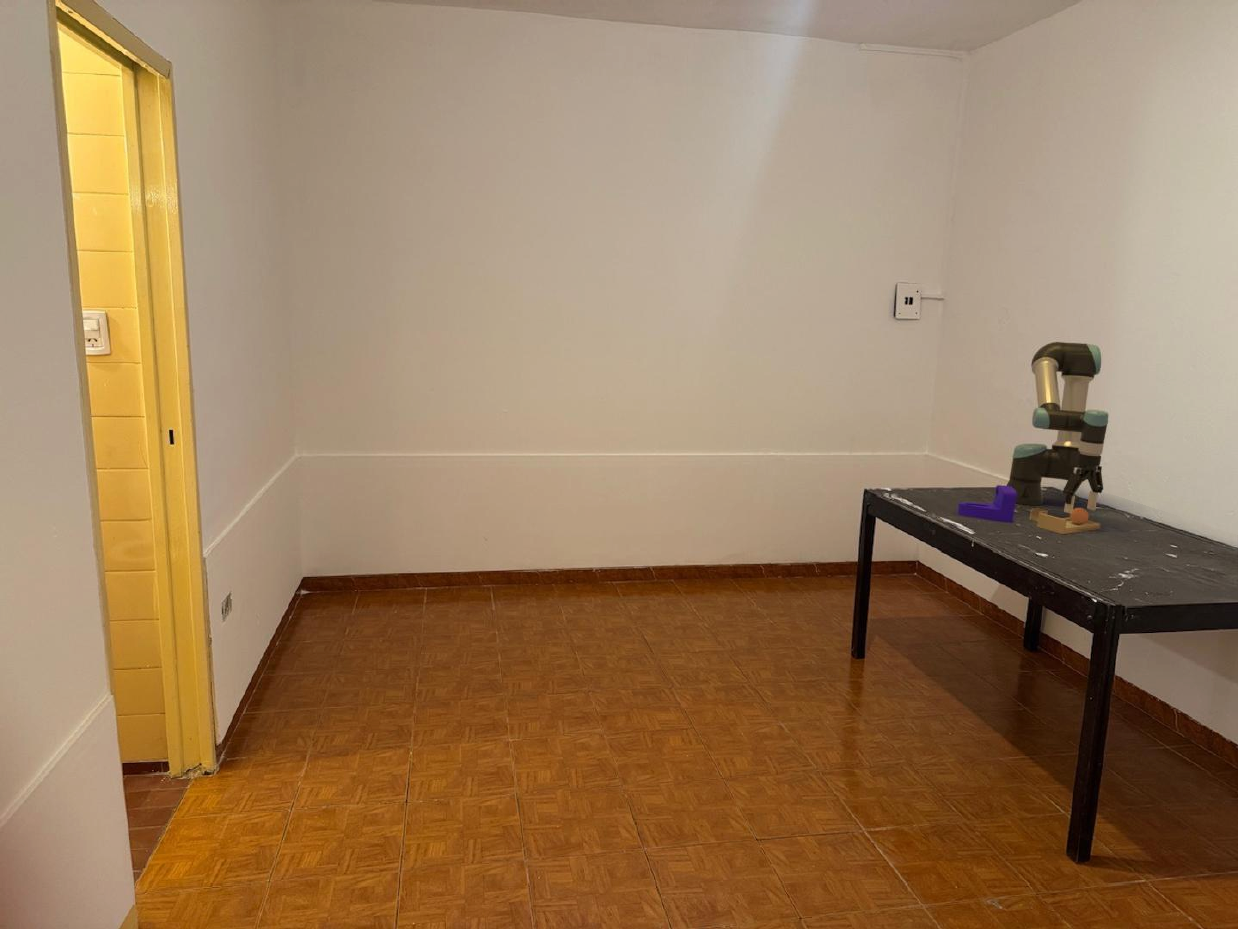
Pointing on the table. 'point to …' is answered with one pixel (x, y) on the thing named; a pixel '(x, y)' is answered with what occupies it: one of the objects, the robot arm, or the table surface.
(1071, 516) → the ball
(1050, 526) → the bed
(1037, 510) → the open wooden box
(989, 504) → the bracket
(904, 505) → the table surface
